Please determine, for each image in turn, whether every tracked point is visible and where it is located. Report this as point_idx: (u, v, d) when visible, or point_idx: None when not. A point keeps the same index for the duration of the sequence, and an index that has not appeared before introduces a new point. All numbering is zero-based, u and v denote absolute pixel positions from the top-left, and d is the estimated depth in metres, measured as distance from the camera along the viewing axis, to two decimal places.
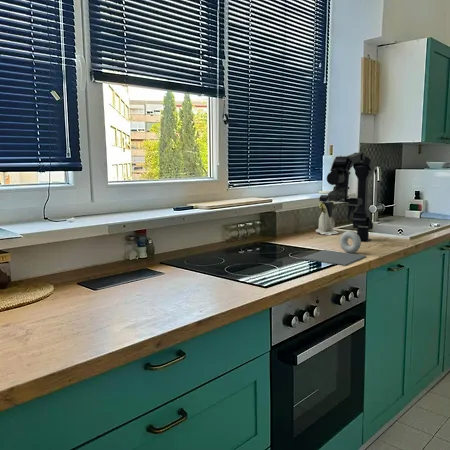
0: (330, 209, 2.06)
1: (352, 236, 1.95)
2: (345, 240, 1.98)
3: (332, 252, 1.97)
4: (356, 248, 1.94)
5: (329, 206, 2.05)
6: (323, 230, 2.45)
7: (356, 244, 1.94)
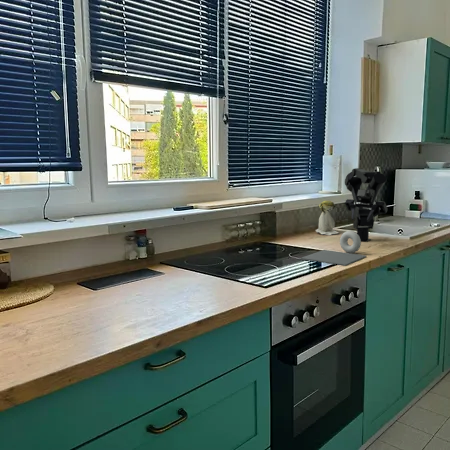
0: (354, 213, 2.07)
1: (352, 236, 1.95)
2: (345, 240, 1.98)
3: (332, 252, 1.97)
4: (356, 248, 1.94)
5: (354, 209, 2.07)
6: (323, 230, 2.45)
7: (356, 244, 1.94)
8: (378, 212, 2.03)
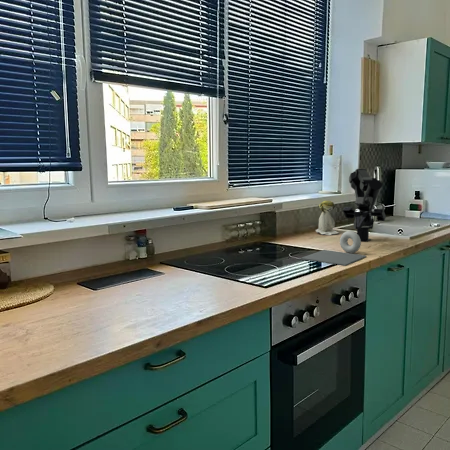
0: None
1: (352, 236, 1.95)
2: (345, 240, 1.98)
3: (332, 252, 1.97)
4: (356, 248, 1.94)
5: (359, 217, 2.04)
6: (323, 230, 2.45)
7: (356, 244, 1.94)
8: (369, 219, 2.04)
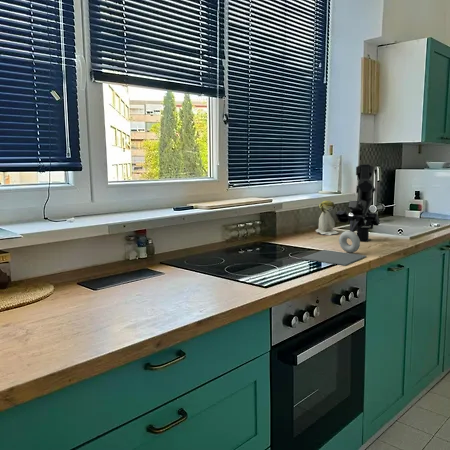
0: None
1: (351, 237, 1.94)
2: (344, 240, 1.98)
3: (332, 252, 1.97)
4: (356, 248, 1.94)
5: (353, 222, 1.99)
6: (323, 230, 2.45)
7: (355, 245, 1.93)
8: (363, 223, 1.99)
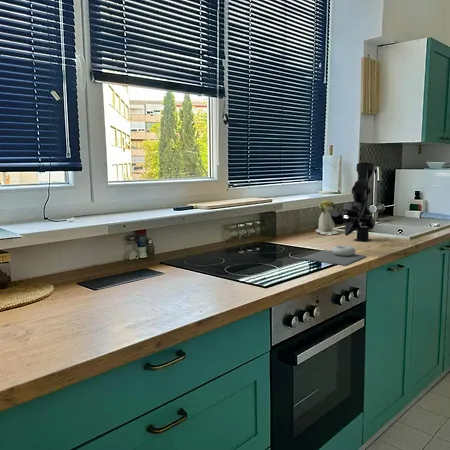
0: None
1: None
2: None
3: None
4: None
5: (348, 224, 1.96)
6: (323, 230, 2.45)
7: (352, 254, 1.91)
8: (358, 226, 1.95)
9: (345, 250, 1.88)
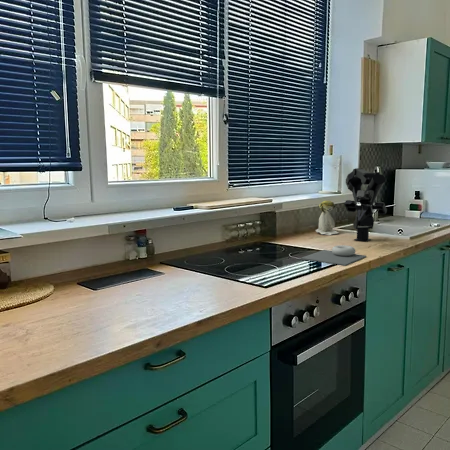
0: None
1: None
2: None
3: None
4: None
5: (361, 211, 2.05)
6: (323, 230, 2.45)
7: (352, 254, 1.91)
8: (370, 212, 2.05)
9: (345, 250, 1.88)
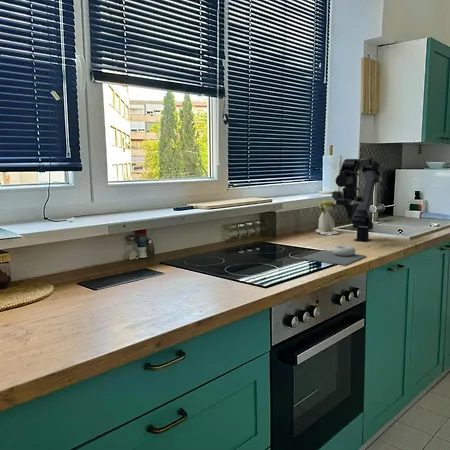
0: None
1: None
2: None
3: None
4: None
5: None
6: (323, 230, 2.45)
7: (352, 254, 1.91)
8: (350, 205, 2.09)
9: (345, 250, 1.88)
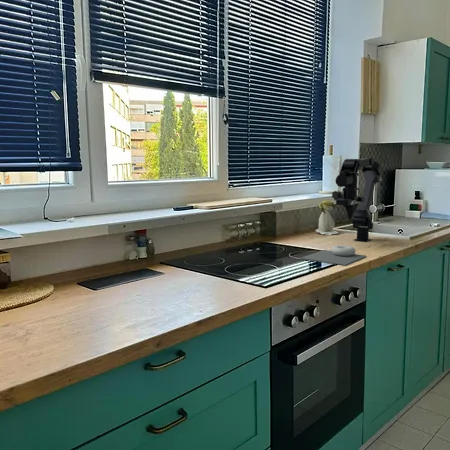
0: None
1: None
2: None
3: None
4: None
5: None
6: (323, 230, 2.45)
7: (352, 254, 1.91)
8: (350, 205, 2.09)
9: (345, 250, 1.88)
